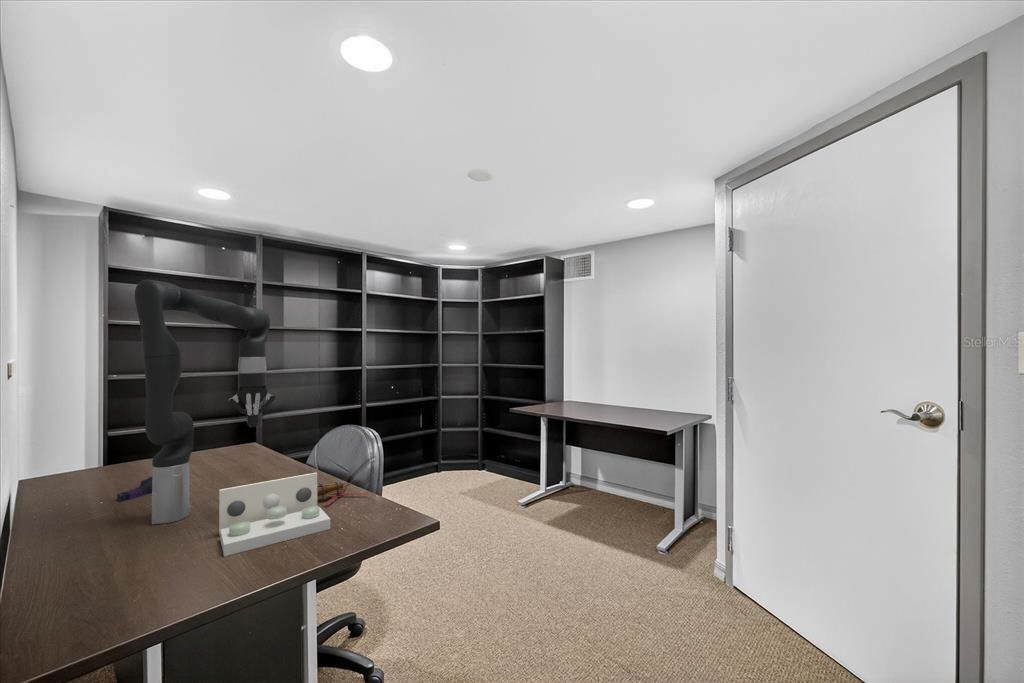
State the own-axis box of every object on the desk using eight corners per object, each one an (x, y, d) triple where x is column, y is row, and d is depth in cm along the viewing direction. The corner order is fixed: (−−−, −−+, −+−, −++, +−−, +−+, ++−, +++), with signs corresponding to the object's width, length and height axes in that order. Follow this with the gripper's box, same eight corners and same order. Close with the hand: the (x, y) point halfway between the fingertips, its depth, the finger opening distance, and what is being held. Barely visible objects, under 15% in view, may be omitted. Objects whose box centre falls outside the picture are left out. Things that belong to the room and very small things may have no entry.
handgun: (108, 492, 162) (158, 481, 174) (119, 503, 149) (173, 491, 161) (108, 484, 162) (158, 474, 174) (119, 495, 149) (172, 484, 161)
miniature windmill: (275, 519, 132) (369, 494, 151) (270, 485, 136) (362, 465, 155) (266, 530, 141) (356, 505, 161) (262, 498, 145) (350, 477, 165)
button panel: (224, 556, 109) (224, 544, 109) (220, 540, 118) (220, 529, 118) (330, 528, 125) (330, 518, 125) (319, 516, 134) (319, 507, 134)
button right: (303, 520, 124) (303, 513, 124) (300, 515, 128) (300, 508, 128) (321, 515, 127) (321, 509, 127) (317, 511, 131) (317, 504, 131)
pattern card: (219, 537, 120) (219, 491, 120) (218, 532, 123) (218, 487, 124) (317, 514, 136) (317, 473, 137) (314, 510, 139) (314, 470, 140)
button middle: (268, 521, 118) (268, 513, 118) (265, 515, 122) (265, 508, 122) (287, 516, 121) (287, 509, 121) (284, 511, 125) (284, 504, 125)
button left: (230, 537, 113) (230, 530, 113) (228, 531, 116) (228, 524, 117) (251, 532, 116) (251, 525, 116) (248, 526, 119) (248, 519, 120)
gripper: (274, 370, 140) (274, 422, 140) (226, 371, 132) (226, 427, 132) (278, 371, 134) (278, 425, 134) (228, 372, 126) (228, 431, 126)
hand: (252, 426), depth 133 cm, fingers closed
